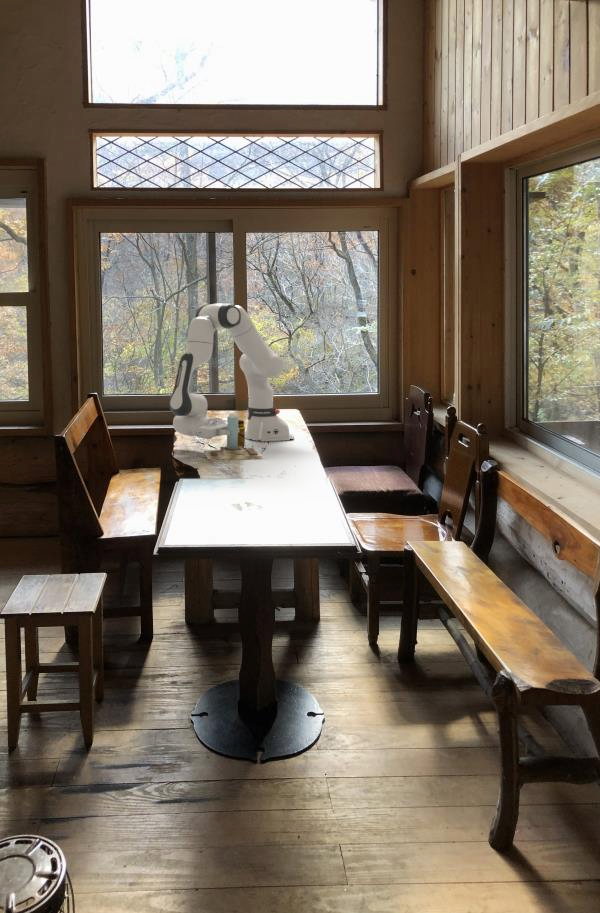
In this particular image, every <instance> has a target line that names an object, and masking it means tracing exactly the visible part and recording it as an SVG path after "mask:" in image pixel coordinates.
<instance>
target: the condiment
mask: <svg viewBox="0 0 600 913" xmlns="http://www.w3.org/2000/svg"><path fill="white" fill-rule="evenodd" d="M238 429H239V433H238V447H242V448H243V449H244V447H245V444H246V442H245V440H246V438H245V433H246V426H245V421H244V420H242V419H238ZM244 450H245V449H244Z"/></svg>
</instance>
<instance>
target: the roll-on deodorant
mask: <svg viewBox="0 0 600 913" xmlns="http://www.w3.org/2000/svg"><path fill="white" fill-rule="evenodd" d="M238 420H239V417H238V415H237V414H236V413H235V412H231V413H229V414H228V416H227V420H226V421H227V430H230V431H231V435H226V447H227V449H230V450H235V449H238Z"/></svg>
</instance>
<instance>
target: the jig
mask: <svg viewBox="0 0 600 913" xmlns="http://www.w3.org/2000/svg"><path fill="white" fill-rule="evenodd" d="M219 448H220V449H217V450H216V449H211V450H205V449H204V450H203V454H205V455H206V456H205V455H204V456H205V457H207V458H208V459H225V460H252V459H251V458H262V459H263V455H262V454H261V453H260V452H259V451H258V450H257V449H255V448H253V447H252V448H251V447H250V448H249V447H245V448H246V449H243V448H242V447H238V449H235V450H230V449H227V446H220V447H219ZM207 458H206V459H207ZM208 459H207V460H208Z"/></svg>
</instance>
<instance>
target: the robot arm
mask: <svg viewBox="0 0 600 913" xmlns="http://www.w3.org/2000/svg"><path fill="white" fill-rule="evenodd" d="M194 315H195V316H194V318H192V319H191V322H190V324H189V327H188V330H187V331H188V332H187V336H186V345H185V346H186V347H185V350H184V353H183V354H182V356H181V358H180V360H179V363H178V367H177V373H176V377H175V381H174V387H173V390H172V393H171V395H170V398H169V403H168V404H169V409H170V411H171V412H172V414H174V415H175V416H174V417H173V420H172V426H173V429H174V431H176V432H177V433H178V434H180V435H184V436H187V437H197V438H201V439H207V440H211V439H212V438H216V437H222V436H227V435H231V431H230V430H227V420H225V419H223V418H220V417H209V416H207V412H208V409H209V408H208V407H209V402H208V400H207V398H206V396H205V395H203V394H200V393H194V392H193V393H192V392H190V385H191V380H192V376H193V372H194V371H195V369H196V368H198V367H199V366H203V365H204V364H207V362H209V361H210V360H211V358H212V355H213V349H214V336H215V332H216V331H219V330H225V329H227V330H228V332H229V333H230V336H231V337H232V339H233V341H234V343H235V344H236V346H237V348H238V349H239V351H240V352H242V354H241V356H240V358H239V361H238V362H239V363H238V364H239V367H240V369H241V371H242V372H243V374H244V376H245V380H246V384H247V390H248V406H247V409H246V412H247V415H246V418H247V424H246V428H245V440H250V439H252V441H258V440H261V441H260V442H264V441H265V442H279V441H281V440H282V441H291V440H290V439H293V440H294V439H295V436H294V435H293V434H292V433H290V428H289V425H288V424H287V423H286V422H285V421H284V420H283V419H282V418H281V417H279V416H278V415H279V414H280V409H278V408H276V407H275V406H274V390H273V388H272V387H271V385H270V382H269V379H274V378H278V377H280V376H281V375H282V374H283V373H284V369H285V362H284V360H283V359H282V357H281V356H279V355H278V354H276V352H275V351H273V350H272V348H271V347H270V346H269V344H268V343H266V342H265V340H264V338H262V335H260V333H259V331H258V329H257V328H256V326H255V324H254V322H253V320H252V318H251V317H250V315H249V314H248V313H247V311H246V310H245V309H244V308H243V306H241V305H238V304H237V305H236V304H233V303H229V302H226V303H224V302H223V303H222V302H220V303H219V302H218V303H217V302H216V303H212V304H211V303H210V304H204V305H201V306H200V307H199V308H198V309H197V310H196V312H195V314H194ZM238 433H239V429H238Z"/></svg>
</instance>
